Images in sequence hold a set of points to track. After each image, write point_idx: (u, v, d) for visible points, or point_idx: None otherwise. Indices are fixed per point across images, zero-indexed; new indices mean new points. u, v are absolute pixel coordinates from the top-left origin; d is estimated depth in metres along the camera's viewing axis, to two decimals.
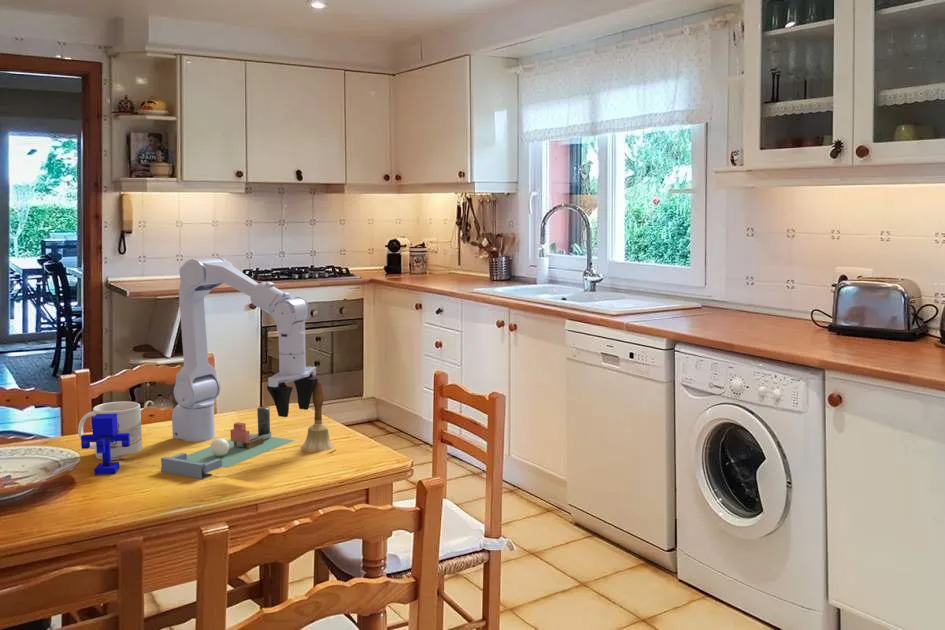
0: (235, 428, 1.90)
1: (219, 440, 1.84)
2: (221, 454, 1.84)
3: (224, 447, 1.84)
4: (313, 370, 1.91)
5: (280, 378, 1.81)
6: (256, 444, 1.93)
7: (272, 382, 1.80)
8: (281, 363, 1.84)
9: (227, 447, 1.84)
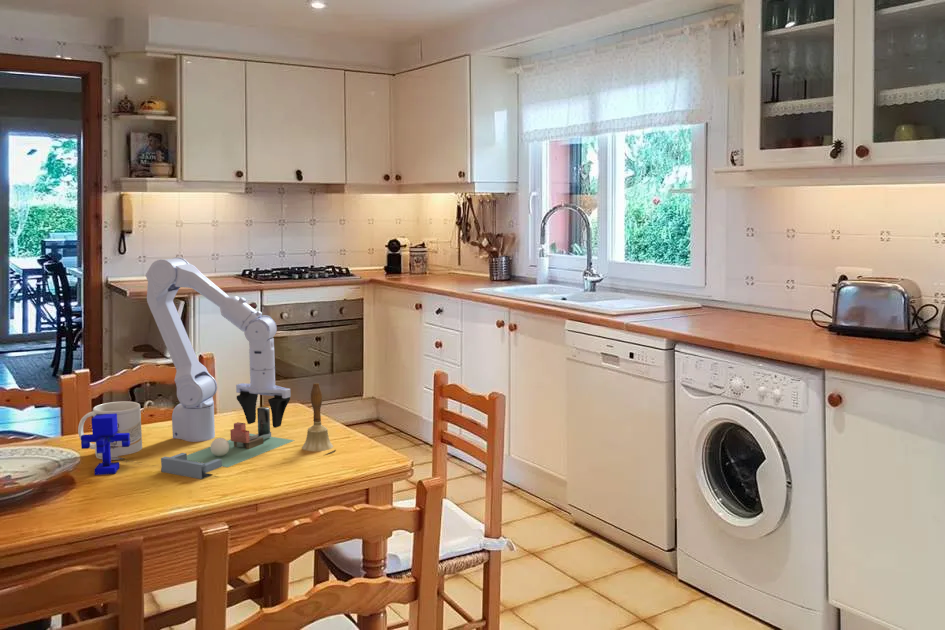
0: (235, 428, 1.90)
1: (219, 440, 1.84)
2: (221, 454, 1.84)
3: (224, 447, 1.84)
4: (281, 392, 1.94)
5: (240, 386, 1.99)
6: (256, 444, 1.93)
7: None
8: None
9: (227, 447, 1.84)
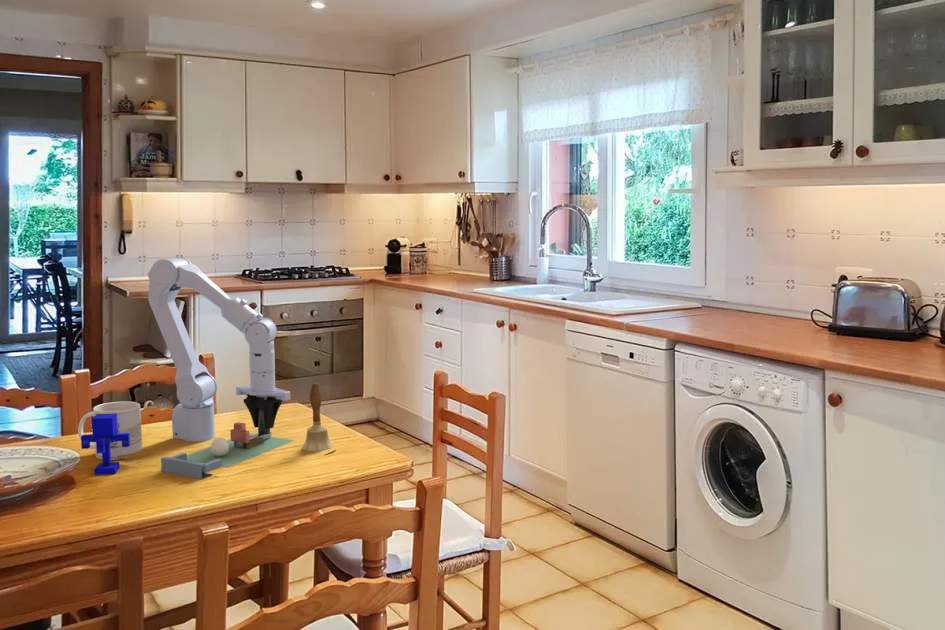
0: (235, 428, 1.90)
1: (219, 440, 1.84)
2: (221, 454, 1.84)
3: (224, 447, 1.84)
4: (281, 395, 1.94)
5: (240, 388, 1.99)
6: (256, 444, 1.93)
7: None
8: None
9: (227, 447, 1.84)
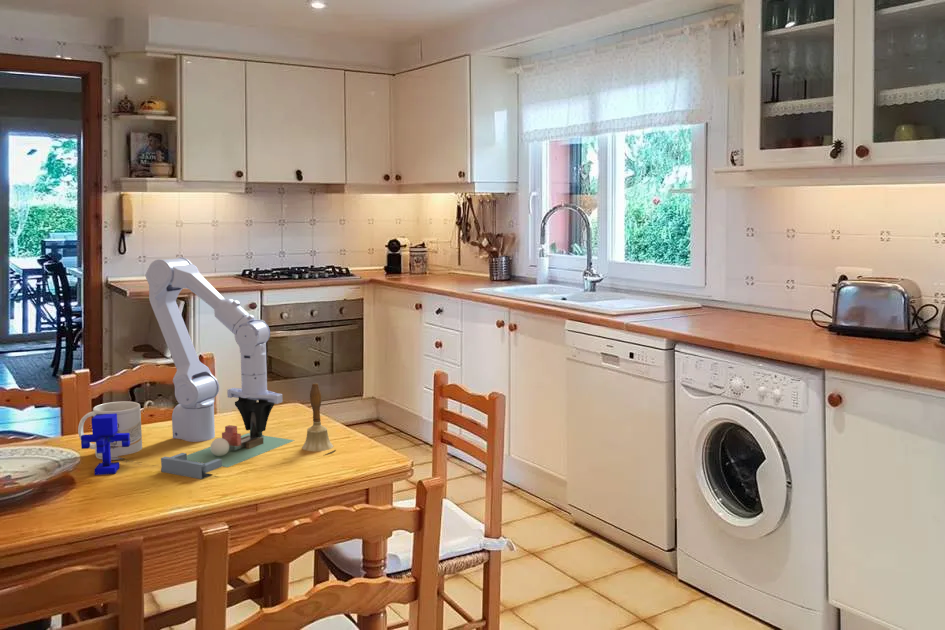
0: (226, 431, 1.88)
1: (219, 440, 1.84)
2: (221, 454, 1.84)
3: (224, 447, 1.84)
4: (273, 397, 1.91)
5: (231, 391, 1.96)
6: (256, 444, 1.93)
7: None
8: None
9: (227, 447, 1.84)
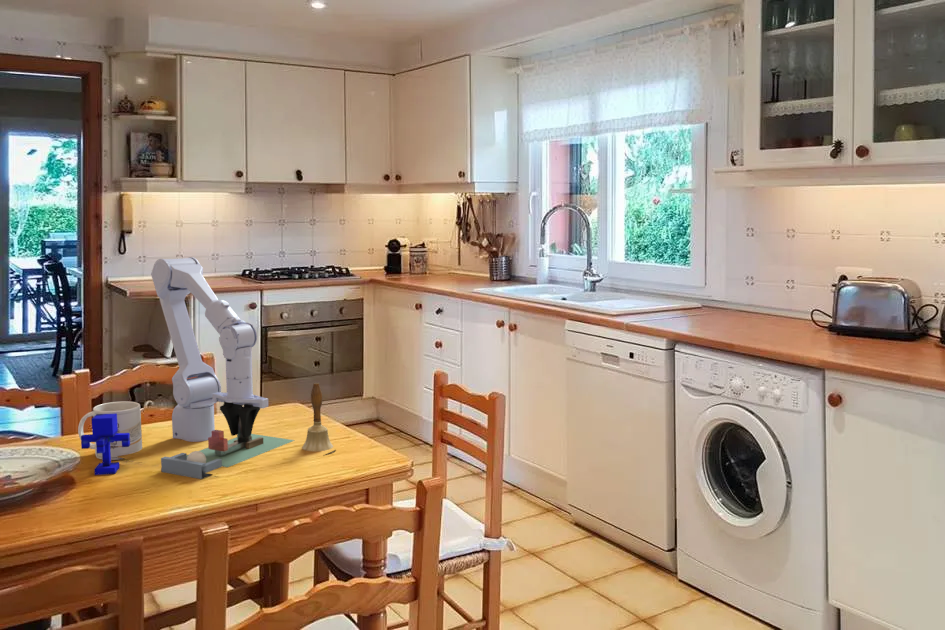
0: (213, 435, 1.84)
1: None
2: (199, 454, 1.78)
3: (205, 459, 1.79)
4: (258, 402, 1.87)
5: (216, 395, 1.92)
6: (256, 444, 1.93)
7: None
8: None
9: (203, 462, 1.78)
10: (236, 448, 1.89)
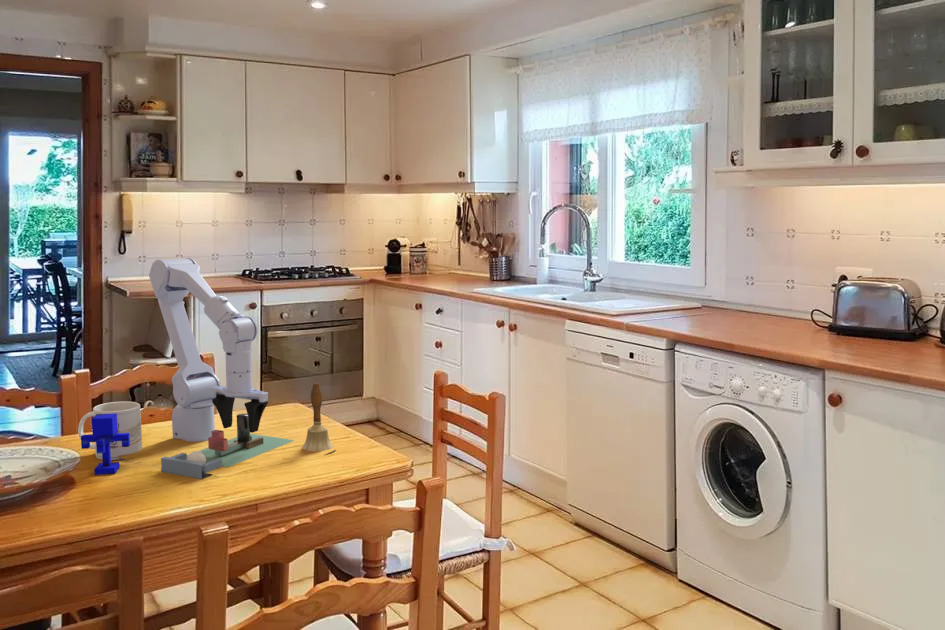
0: (213, 435, 1.84)
1: None
2: (199, 454, 1.78)
3: (205, 459, 1.79)
4: (258, 396, 1.87)
5: (216, 389, 1.91)
6: (256, 444, 1.93)
7: None
8: None
9: (203, 462, 1.78)
10: (236, 448, 1.89)
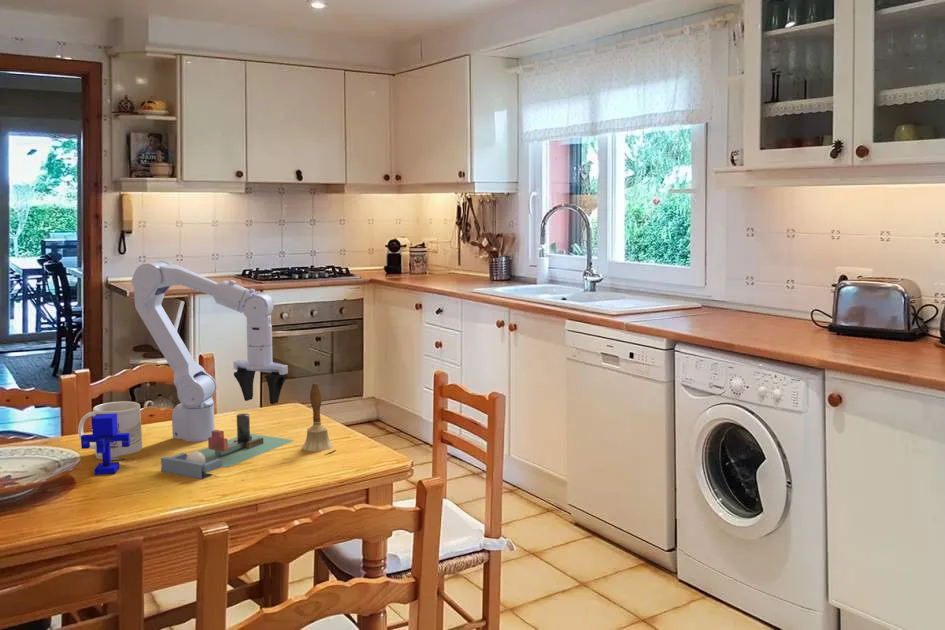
0: (213, 435, 1.84)
1: None
2: (198, 454, 1.78)
3: (204, 459, 1.78)
4: (278, 368, 1.94)
5: (237, 363, 1.99)
6: (256, 444, 1.93)
7: None
8: None
9: (202, 462, 1.78)
10: (236, 448, 1.89)
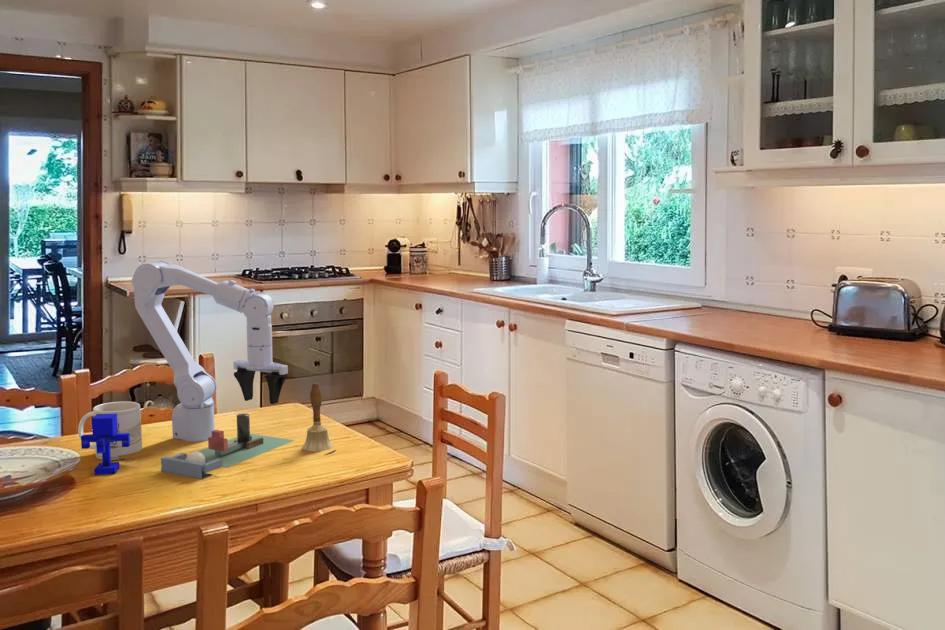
0: (213, 435, 1.84)
1: None
2: (198, 455, 1.78)
3: (204, 459, 1.78)
4: (278, 368, 1.94)
5: (237, 363, 1.99)
6: (256, 444, 1.93)
7: None
8: None
9: (202, 462, 1.78)
10: (236, 448, 1.89)
